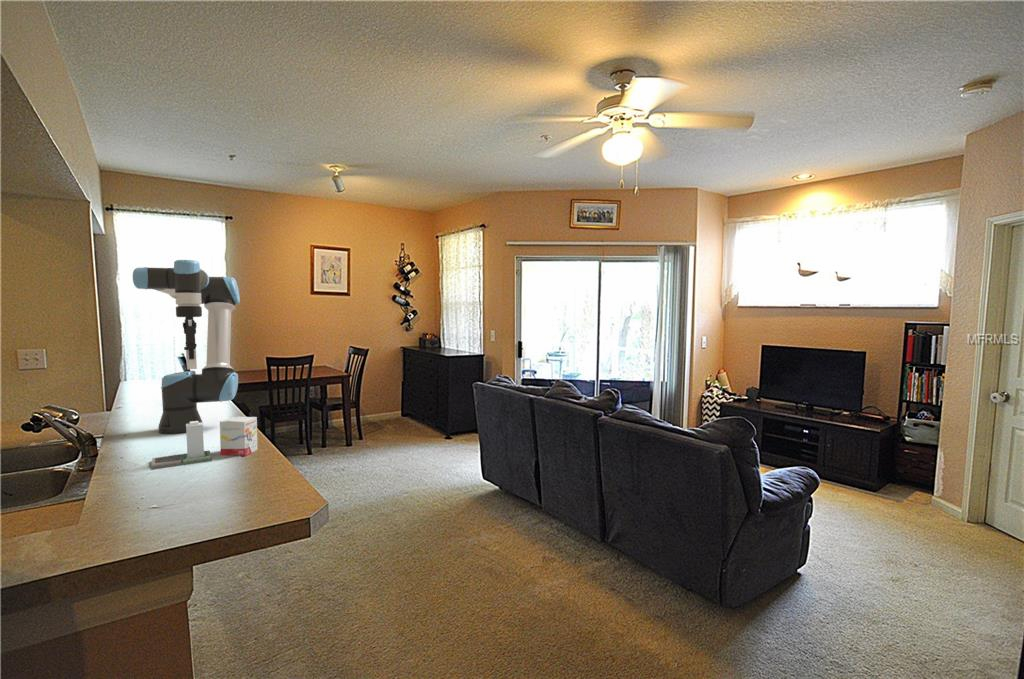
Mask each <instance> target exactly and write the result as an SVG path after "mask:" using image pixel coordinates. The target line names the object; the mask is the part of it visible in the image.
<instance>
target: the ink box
mask: <svg viewBox="0 0 1024 679" xmlns="http://www.w3.org/2000/svg"><path fill="white" fill-rule="evenodd" d="M257 418H258V417H257V416H232V417H229V418H226V419H224V420H220V421H219V436H220V437H219V438H220V439H219V441H220V456H240V457H246V456H248V455H250V454H252V453H255V452H256V451H258V419H257Z"/></svg>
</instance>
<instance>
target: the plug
mask: <svg viewBox="0 0 1024 679" xmlns="http://www.w3.org/2000/svg"><path fill="white" fill-rule="evenodd" d="M202 423H203V421H202V422H199V421H192V422H190V424H186V432H185V433H186V453H187V457H188V459H190V458H197V457H204V451H205V445H204V425H203V424H204V423H203V424H202Z"/></svg>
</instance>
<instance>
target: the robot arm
mask: <svg viewBox="0 0 1024 679" xmlns="http://www.w3.org/2000/svg"><path fill="white" fill-rule="evenodd" d="M200 267H201V266H200V262H199V261H198V260H194V259H193V260H192V259H176V260H174V262H173V267H147V266H145V267H136V268H134V269H133V272H132V283H133V285H134V287H135V288H136V289H138V290H154V291H157V292H161V293H163V294H167V295H169V296H170V297H171V298H173V299H175V304H176V306H175V316H176V317H177V318H185V319H184V321H183V322H182V329H183V333H184V335H185V344H184V345H185V346H184V347H183V350H184V351H185V355H186V356H185V357H186V358H185V359H186V370H187V371H180V372H174V373H170V374H166V375H164V376H163V377H162V378H161V386H160V389H161V402H162V404H161V405H162V413H161V416H160V421H159V423H158V426H157V428H158V430H157V431H158V433H159V434H182V433H186V424H190V422H192V421H199V422H202V424H204V423H203V420H202V417H201V416H200V413H199V410H198V407H197V403H198V404H199V403H201V404H202V403H213V402H214V403H215V402H220V403H222V402H227V401H228V402H229V401H232V400H233V399H234V398H235V397H236V395H237V392H238V387H239V374H238V373H237V372H235V369H234V367H232V366H231V343H232V342H231V341H232V340H231V337H232V311H234V310H235V309H236V305H239V304H240V303H241V298H240V292H239V286H238V283H237V280H236V279H235V278H234V277H232V276H230V277H229V276H209V275H208V273H207V272H205V270H203V269H201V268H200ZM201 305H204V306H203V307H204V308H205V309H206V310H207V337H206V365H205V366H204V367H203V368H201V373H197V372H196V371H195V370H197V369H198V364H197V343H196V334H197V322H196V321H195V319H194V318H200V317H203V316H202V315H203V308H202V306H201Z"/></svg>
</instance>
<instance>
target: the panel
mask: <svg viewBox="0 0 1024 679" xmlns="http://www.w3.org/2000/svg"><path fill="white" fill-rule="evenodd" d="M208 462H213V459H212V455H211V451H210V450H204V457H197V458H190V459H188V457H187V452H186V453H181V454H179V453H178V454H173V455H166V456H158V457H152V459H151V466H150V471H155V470H161V469H167V468H168V469H169V468H174V467H182V466H188V465H194V464H203V463H208Z"/></svg>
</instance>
